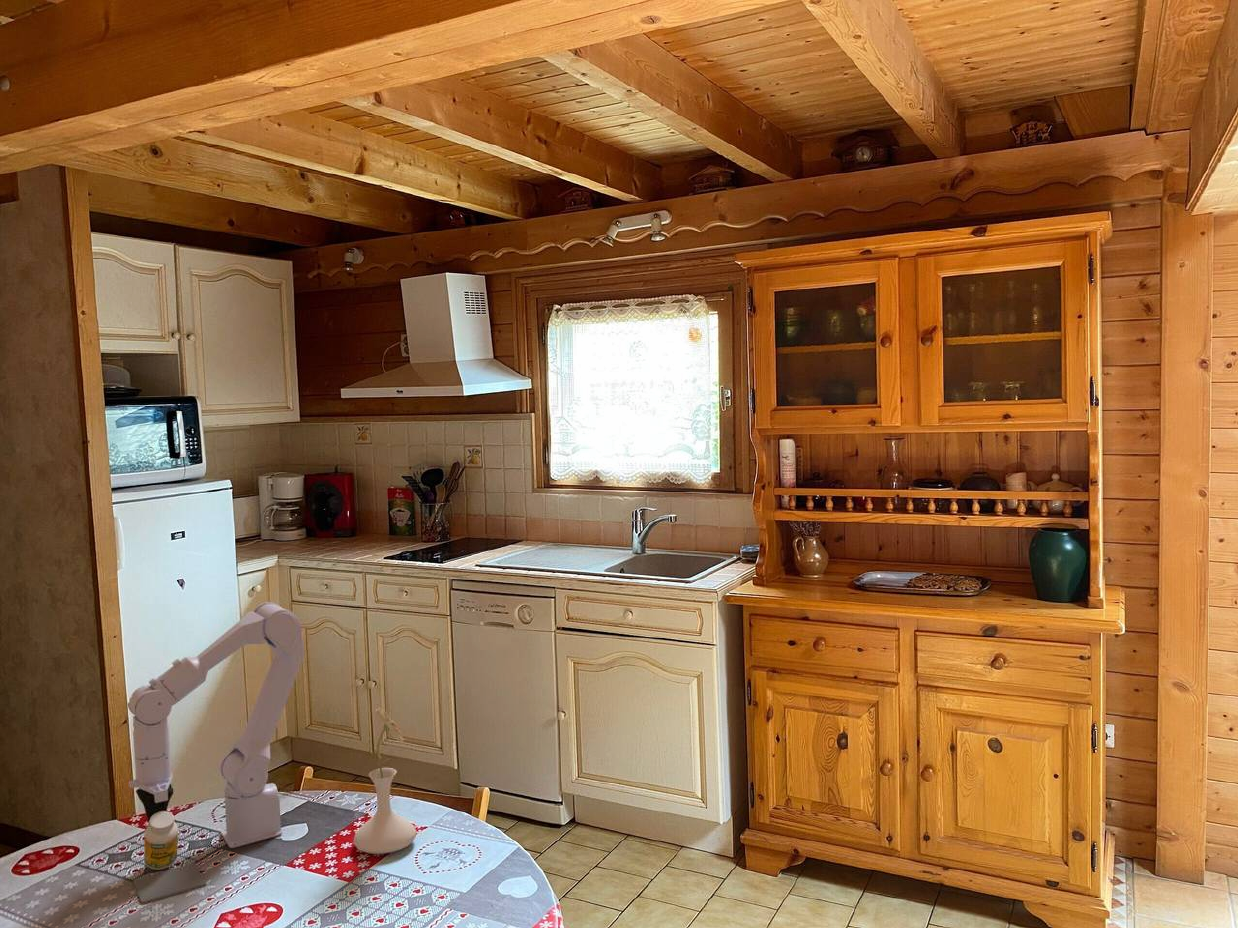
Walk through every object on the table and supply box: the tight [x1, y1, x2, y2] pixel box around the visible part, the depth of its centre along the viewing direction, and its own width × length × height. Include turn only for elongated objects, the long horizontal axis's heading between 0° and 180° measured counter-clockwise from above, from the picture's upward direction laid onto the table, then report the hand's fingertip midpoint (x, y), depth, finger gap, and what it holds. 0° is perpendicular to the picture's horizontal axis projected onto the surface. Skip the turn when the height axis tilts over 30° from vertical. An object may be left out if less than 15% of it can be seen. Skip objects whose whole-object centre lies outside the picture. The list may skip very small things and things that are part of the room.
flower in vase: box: [352, 707, 417, 855], centre depth 178 cm, size 13×11×25 cm
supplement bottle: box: [143, 810, 179, 871], centre depth 171 cm, size 5×5×10 cm
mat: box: [132, 862, 207, 905], centre depth 166 cm, size 10×9×1 cm
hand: (157, 827), depth 173 cm, fingers closed
